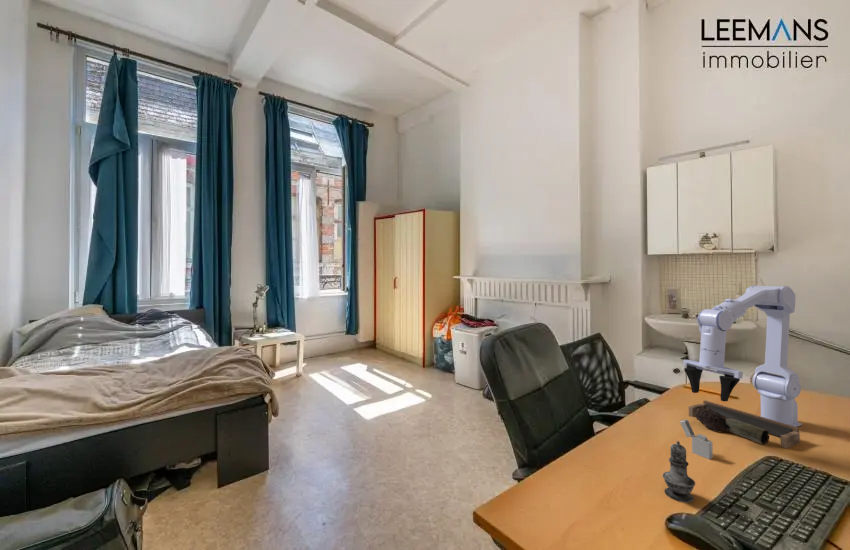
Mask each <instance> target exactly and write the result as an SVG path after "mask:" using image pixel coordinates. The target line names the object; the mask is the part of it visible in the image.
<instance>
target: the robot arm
mask: <svg viewBox="0 0 850 550" xmlns="http://www.w3.org/2000/svg"><path fill="white" fill-rule="evenodd" d="M752 307H754V308H757V310H760V311H761V312H763V313H764V314H765V315H766V316H767V318H766V333H765V335H766V339H765V355H764V356H765V357H764V363H763V364H761V365H758V366H757V367H755V371H754V374H753V376H752V385H753V387H754V389H755V390H757V394H760V417H764V418H767V419H771V420H774V421H778V422H781V423H784V424H788V425H791V426H795V427H800V426H802V425H803V424H802V423H801V422H799V421H798V418H799V417H798V415H799V414H798V413H799V411H798V407H799V406H798V402H797V401H796V398H798V397H799V396H800V394H801V390H802V388H801V387H802V386H801V383H800V376H799V374H798V373H797V372H795V371H794V370H793V369H791V368H790V367H789V366H788V358H789V357H788V356H789V337H790V321H791V320H790V319H791V316H790V315H791V314H792V313H795V309H796V308H795V307H796V293H795V292H794V290H793V289H792V288H791V287H790V286H787V285H786V286H785V285H784V286H780V285H779V286H778V285H776V286H775V285H774V286H771V285H768V286H767V285H766V286H765V285H750V286H749V287H746V290H745V293H743V294H742V295H740V296H739V297H738V298H736V299H735V298H726V299H724V301H723V302H722V303H720V304H717V305H715V306H714V307H712V308H711V309H708V308H705V309H702V310H701V311H700V312H699V314H698V315H697V317H696V322H697V323H696V324H698V331H699V333H700V345H699V347H700V348H699V358H698V360H699V361H696V360H690V359H683V362H682V366H683V367H684V369H683V370H684V373H685V374H686V377H687V378H688V381H689V384H690V388H691V393H693V394H697V393H700V383H701V378H702V374H703V371H706V372H710V373H714V374H719V381H720V401H721V402H728V401H729V398H730V396H731V394H732V391H733V390H734V388H736V386H737V384H738V383H739V382H740V380H741V379H743V375H744V372H743V371H742V370H739V369H738V370H737V369H733V368H730V367H726V366H725V357H726V344H727V331H729V330H730V329H731V328H732V326H733V324H734V323H735V321H736V320H737V319H739V318H741V317H743V316H744V315H746V312H747V309H750V308H752Z"/></svg>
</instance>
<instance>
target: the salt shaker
mask: <svg viewBox="0 0 850 550" xmlns="http://www.w3.org/2000/svg"><path fill="white" fill-rule="evenodd" d="M668 462H669V463H670V465H669V466H670V469H669V471H665V472H663V474H662V477H663V479H664V482H665V484H666V486H667V487H666V488H664V493H665V495H666V496H667V497H669V498H670V499H672V500H674V501H677V502H679V503H686V504H687V503H689V504H690V503H693V502H694V501H695V497H694V496H693V495H692V494H691V493H692V492H693V489H694V487H695V486H696V481H695V480H694V479H693V478H692V477H690V476H689V475H688V466H689V462H688V461H687V449H686V447H685V446H684V445H682V444H681V443H680V441H679V440H677V441H676V443H674V444H671V445H670V457H669V458H668Z"/></svg>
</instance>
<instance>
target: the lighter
mask: <svg viewBox="0 0 850 550" xmlns="http://www.w3.org/2000/svg"><path fill="white" fill-rule="evenodd" d="M679 423H680V425H681V428H682V430H683V432H684V434H685V436H686V437H687V438H691V453H692V454H695V455H697V456H699V457H702V458H705V459H707V460H711V459H714V458H713V456H714V455H713V453H714V452H713V450H714V449H713V441H712V440H709V439H708V437H707V435H704V434H701V433H697V434H696V435H695V432H694V430H693V428H692V425H691V424H690V422H689V420H688V419H682V420H680V421H679Z"/></svg>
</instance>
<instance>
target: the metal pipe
mask: <svg viewBox="0 0 850 550" xmlns="http://www.w3.org/2000/svg"><path fill="white" fill-rule="evenodd" d="M694 417H695V418H696V420H697V421H699V422H700V423H701V424H703V425H704V427H705V428H706V429H708V430H711V431H713V432H717V433H718V432H719V433H721V432H730V433H733V434H735V435H738V436H739V437H743V438H745V439H747V440H751V441H753V442H756V443H757V444H758V443H759V444H761V445H766V444H768V442H769V441H770V434H769V431H767V430H765V429H762V428H759V427H756V426H753V425H750V424H747V423H744V422H741V421H738V420H735V419H731V418H726V417H725V416H723V415H721V414H719V413H718V412H716V411H713V410H712V409H710V408H709V410H708V409H697V410H696V414H695V416H694Z"/></svg>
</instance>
